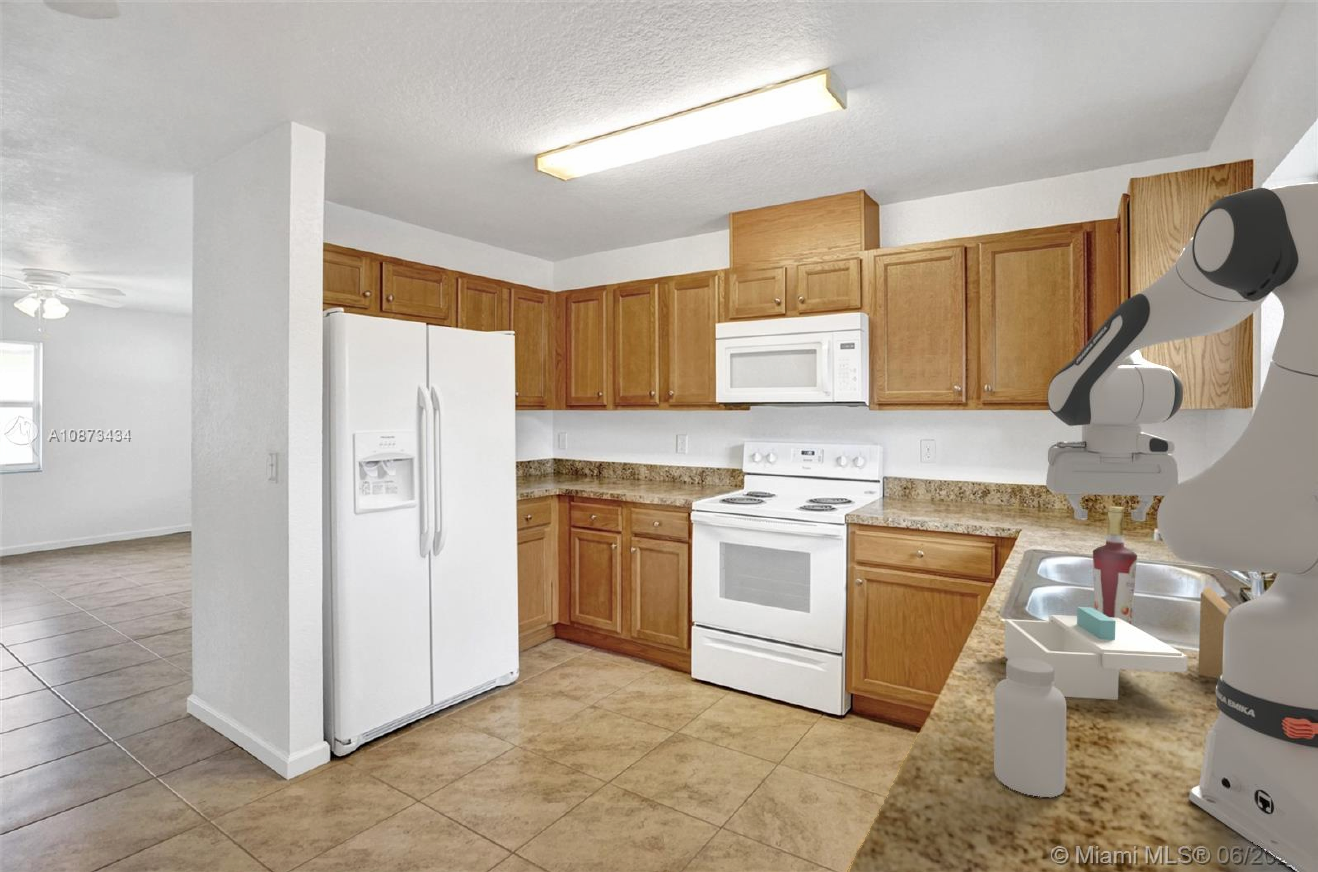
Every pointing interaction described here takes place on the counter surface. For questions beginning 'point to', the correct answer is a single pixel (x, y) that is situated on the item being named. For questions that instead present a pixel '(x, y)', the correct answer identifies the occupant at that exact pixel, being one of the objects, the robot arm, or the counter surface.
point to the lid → (1121, 642)
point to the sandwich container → (1212, 633)
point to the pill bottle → (1030, 729)
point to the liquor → (1114, 571)
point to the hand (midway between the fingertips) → (1109, 520)
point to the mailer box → (1062, 658)
